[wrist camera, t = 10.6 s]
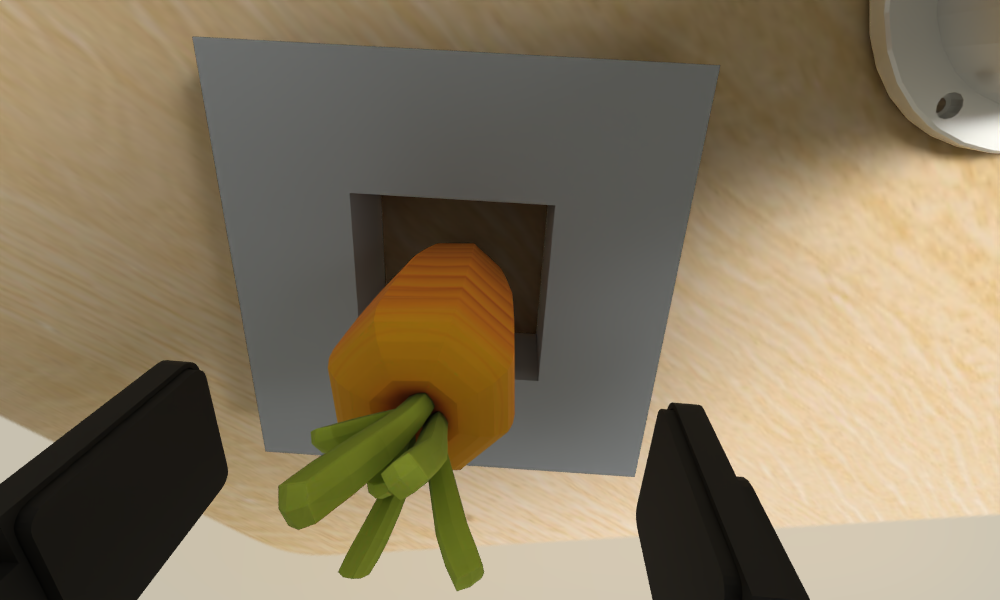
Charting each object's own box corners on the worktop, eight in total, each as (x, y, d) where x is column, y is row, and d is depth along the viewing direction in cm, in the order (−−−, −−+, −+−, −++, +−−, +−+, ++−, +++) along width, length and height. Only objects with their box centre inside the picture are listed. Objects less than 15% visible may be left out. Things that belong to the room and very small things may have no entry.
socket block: (681, 68, 19) (720, 65, 15) (618, 418, 25) (634, 476, 21) (256, 45, 19) (192, 36, 15) (302, 397, 25) (265, 451, 22)
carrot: (540, 285, 22) (564, 616, 9) (440, 323, 23) (320, 672, 10) (496, 182, 21) (437, 391, 7) (390, 227, 22) (155, 488, 8)
